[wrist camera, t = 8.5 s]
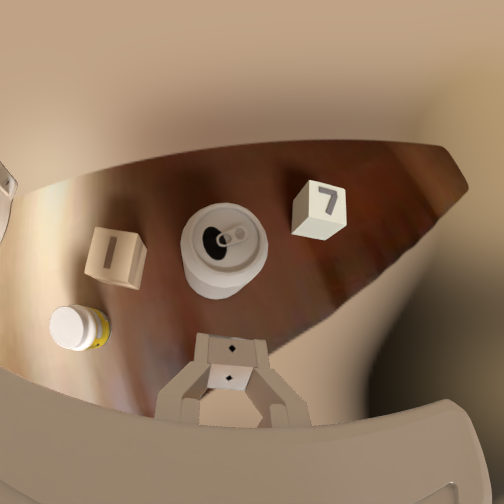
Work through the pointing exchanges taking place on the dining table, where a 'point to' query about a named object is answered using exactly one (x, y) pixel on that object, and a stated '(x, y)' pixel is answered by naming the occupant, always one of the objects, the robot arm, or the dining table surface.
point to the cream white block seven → (319, 211)
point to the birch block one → (116, 258)
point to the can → (222, 249)
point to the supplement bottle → (79, 327)
